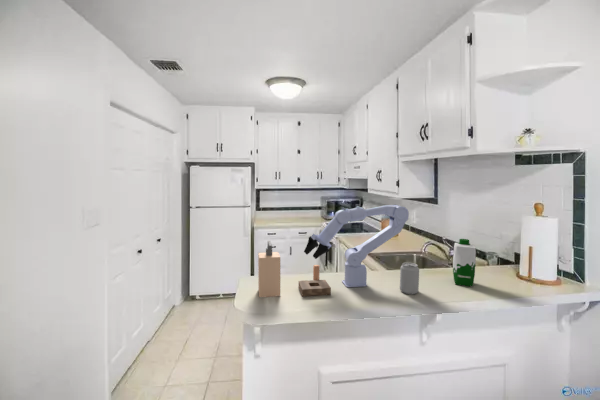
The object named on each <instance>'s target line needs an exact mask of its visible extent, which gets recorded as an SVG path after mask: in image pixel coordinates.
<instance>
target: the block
mask: <svg viewBox="0 0 600 400" xmlns="http://www.w3.org/2000/svg"><path fill="white" fill-rule="evenodd" d="M298 290H299V292H300V295H301V297H303V298H304V297H319V296H331V295H332V287H331V286H330V285H329V283H328V281H327V280H326V279H319V280H311V279H309V280H298Z"/></svg>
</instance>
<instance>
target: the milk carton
mask: <svg viewBox="0 0 600 400" xmlns="http://www.w3.org/2000/svg"><path fill="white" fill-rule="evenodd" d="M476 248H477V247H476V246H475V245H474V244H473V243H470V239H468V238H459V241H458V242H454V244H453V259H452V260H453V261H452V275H453V282H454V284H455V285H457V286H462V285H465V286H464V287H470V286H473V287H474V281H475V276H476V255H477V250H476Z"/></svg>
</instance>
